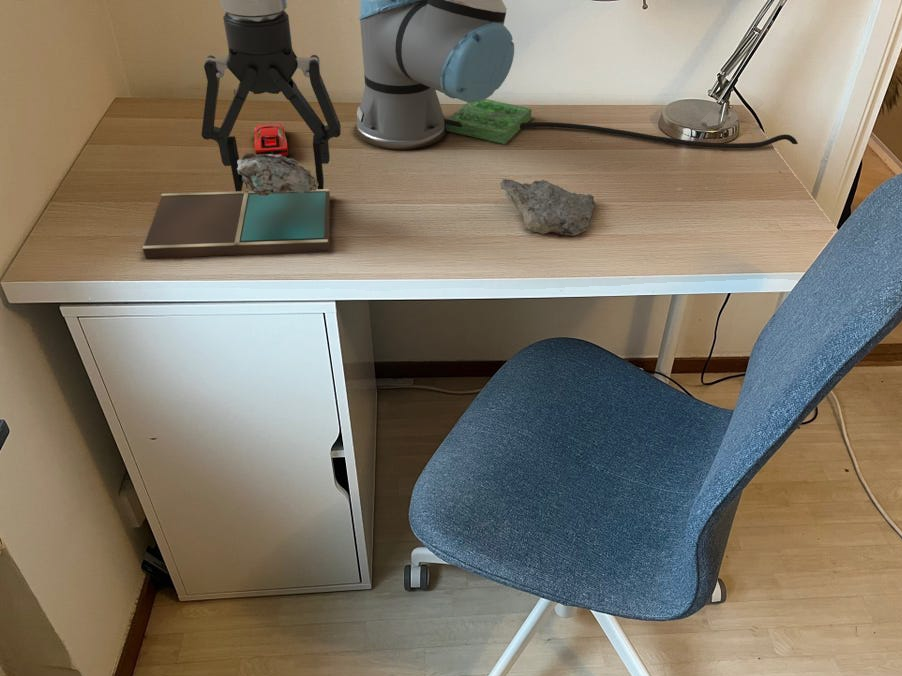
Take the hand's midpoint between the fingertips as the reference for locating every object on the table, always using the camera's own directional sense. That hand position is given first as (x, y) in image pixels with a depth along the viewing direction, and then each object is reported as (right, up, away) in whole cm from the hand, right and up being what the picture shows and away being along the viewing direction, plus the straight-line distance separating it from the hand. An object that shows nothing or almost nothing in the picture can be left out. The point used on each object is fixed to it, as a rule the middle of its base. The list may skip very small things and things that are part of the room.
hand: (280, 185), depth 106 cm
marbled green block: (+29, +20, +33) cm, 48 cm away
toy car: (-7, +13, +23) cm, 27 cm away
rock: (+37, -2, +10) cm, 39 cm away
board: (-6, -5, +3) cm, 9 cm away
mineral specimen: (0, 0, 0) cm, 0 cm away
